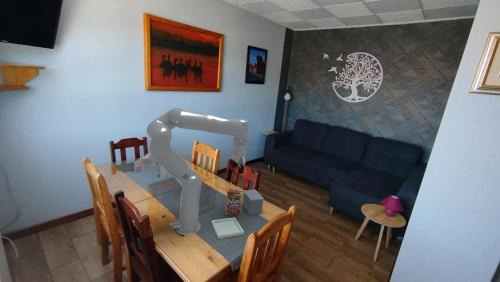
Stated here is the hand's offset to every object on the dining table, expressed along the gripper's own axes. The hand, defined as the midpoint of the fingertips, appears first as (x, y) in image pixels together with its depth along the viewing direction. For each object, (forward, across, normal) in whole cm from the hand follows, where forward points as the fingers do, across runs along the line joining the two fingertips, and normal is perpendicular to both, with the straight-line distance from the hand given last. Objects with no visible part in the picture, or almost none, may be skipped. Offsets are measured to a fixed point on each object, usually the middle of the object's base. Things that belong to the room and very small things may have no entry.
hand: (237, 170), depth 131 cm
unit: (+28, -2, +13) cm, 31 cm away
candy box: (+28, 0, 0) cm, 28 cm away
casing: (+28, -76, -40) cm, 90 cm away
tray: (+28, +13, -8) cm, 32 cm away
